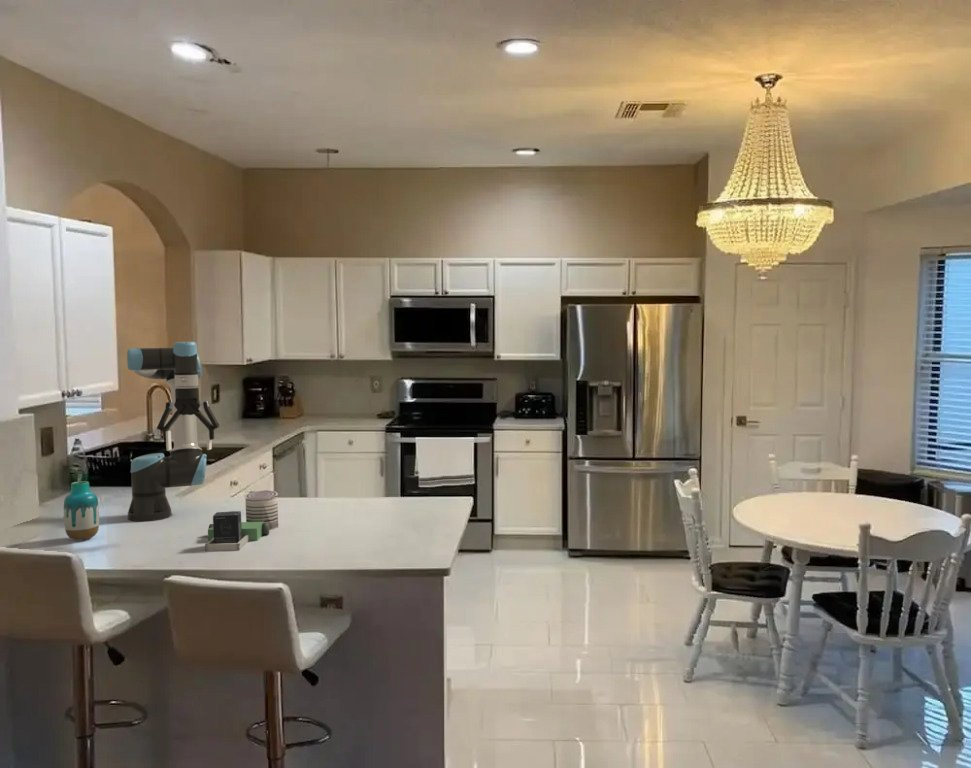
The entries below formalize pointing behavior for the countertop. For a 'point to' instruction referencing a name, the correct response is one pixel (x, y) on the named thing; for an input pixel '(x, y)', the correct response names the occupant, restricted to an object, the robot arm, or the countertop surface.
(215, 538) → the box
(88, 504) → the vase
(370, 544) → the countertop surface
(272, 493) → the can
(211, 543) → the green tray fixture
